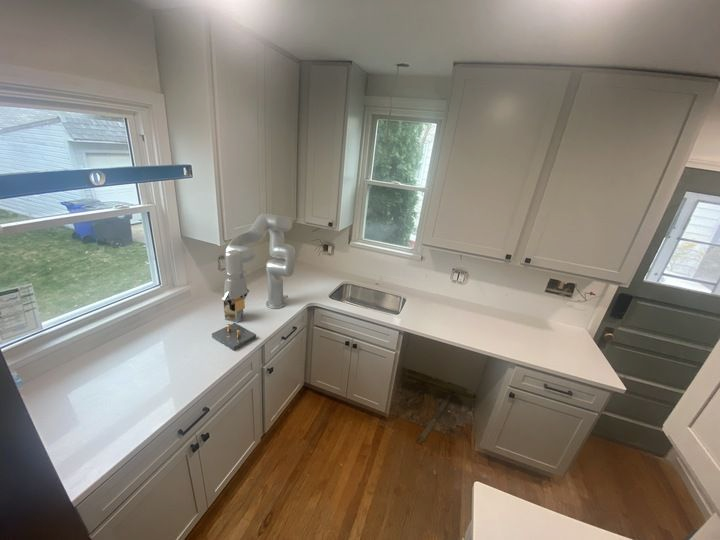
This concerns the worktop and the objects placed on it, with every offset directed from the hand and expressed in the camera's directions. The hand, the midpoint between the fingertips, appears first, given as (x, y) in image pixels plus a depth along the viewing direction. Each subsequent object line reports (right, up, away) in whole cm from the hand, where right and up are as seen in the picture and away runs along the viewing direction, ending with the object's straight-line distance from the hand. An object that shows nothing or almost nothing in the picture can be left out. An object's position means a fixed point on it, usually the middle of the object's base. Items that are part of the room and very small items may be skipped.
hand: (237, 307), depth 148 cm
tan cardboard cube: (0, 0, 0) cm, 0 cm away
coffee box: (-13, -10, +26) cm, 31 cm away
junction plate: (-5, -17, +9) cm, 20 cm away
